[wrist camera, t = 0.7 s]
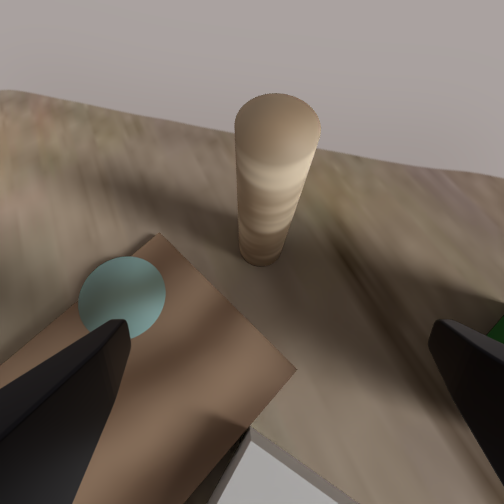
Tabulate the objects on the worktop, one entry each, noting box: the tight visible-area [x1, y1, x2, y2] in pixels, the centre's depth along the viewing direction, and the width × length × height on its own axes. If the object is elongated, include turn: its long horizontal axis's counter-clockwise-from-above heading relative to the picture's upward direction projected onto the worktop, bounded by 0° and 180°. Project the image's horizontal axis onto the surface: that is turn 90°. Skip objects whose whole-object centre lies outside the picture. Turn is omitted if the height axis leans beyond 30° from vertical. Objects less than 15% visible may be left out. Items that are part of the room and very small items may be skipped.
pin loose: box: [235, 93, 321, 266], centre depth 18 cm, size 3×3×13 cm
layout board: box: [0, 232, 297, 504], centre depth 19 cm, size 15×20×1 cm
